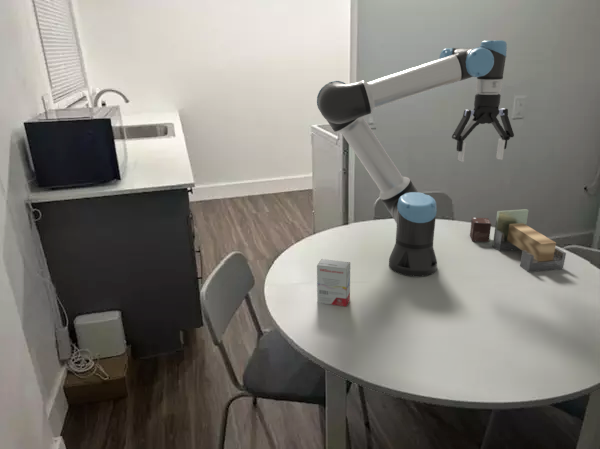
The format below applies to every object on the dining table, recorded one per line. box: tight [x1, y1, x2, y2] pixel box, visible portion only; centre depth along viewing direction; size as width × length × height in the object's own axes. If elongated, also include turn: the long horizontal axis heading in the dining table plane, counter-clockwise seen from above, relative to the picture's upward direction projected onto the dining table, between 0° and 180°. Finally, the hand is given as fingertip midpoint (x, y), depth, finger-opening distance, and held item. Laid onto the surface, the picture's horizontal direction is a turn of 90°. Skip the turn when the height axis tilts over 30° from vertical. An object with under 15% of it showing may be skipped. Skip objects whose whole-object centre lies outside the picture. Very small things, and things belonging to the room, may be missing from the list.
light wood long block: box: [507, 223, 557, 261], centre depth 154 cm, size 18×5×6 cm, turn 7°
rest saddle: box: [519, 247, 567, 273], centre depth 149 cm, size 12×4×6 cm, turn 99°
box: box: [469, 217, 492, 243], centre depth 172 cm, size 6×6×7 cm
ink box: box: [316, 258, 351, 307], centre depth 130 cm, size 9×5×12 cm, turn 71°
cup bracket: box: [492, 208, 529, 252], centre depth 163 cm, size 12×5×13 cm, turn 99°
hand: (480, 160), depth 153 cm, fingers open, 13 cm apart
